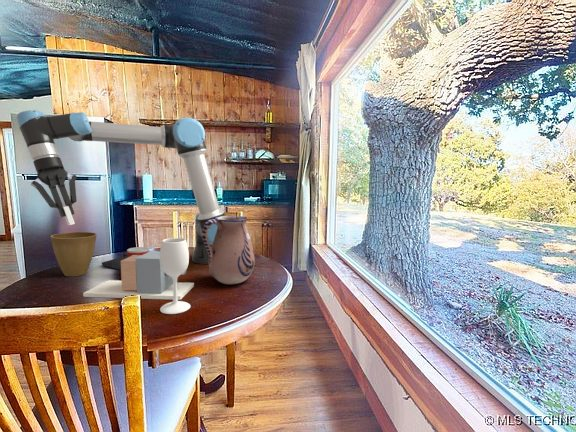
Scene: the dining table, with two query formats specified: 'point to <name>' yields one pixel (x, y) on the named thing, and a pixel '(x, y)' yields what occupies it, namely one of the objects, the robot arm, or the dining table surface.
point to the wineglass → (174, 270)
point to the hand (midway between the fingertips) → (71, 224)
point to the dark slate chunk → (115, 262)
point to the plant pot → (74, 251)
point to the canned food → (137, 251)
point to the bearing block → (143, 282)
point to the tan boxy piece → (130, 273)
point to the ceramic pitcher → (229, 250)
